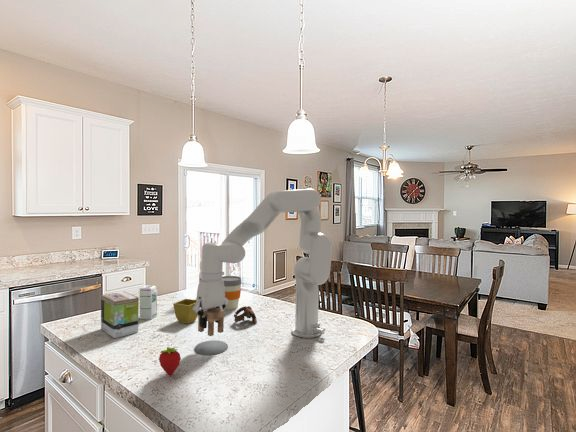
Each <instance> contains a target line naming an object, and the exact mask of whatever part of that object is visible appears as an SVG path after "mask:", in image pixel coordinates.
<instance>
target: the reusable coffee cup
mask: <svg viewBox="0 0 576 432" xmlns="http://www.w3.org/2000/svg"><path fill="white" fill-rule="evenodd" d="M222 279H223V281H224V287H225V297H226V298H227V299H228V300H229V302H228V303H227V305H226V307H225V308H224V310H225V309H231V310H236V309H238V307H239V300H240V298H241V291H242V288H241V285H242V282H243V281H242V278H241V277H240V276H236V275H225V276H224V275H222ZM235 308H236V309H235Z"/></svg>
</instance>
